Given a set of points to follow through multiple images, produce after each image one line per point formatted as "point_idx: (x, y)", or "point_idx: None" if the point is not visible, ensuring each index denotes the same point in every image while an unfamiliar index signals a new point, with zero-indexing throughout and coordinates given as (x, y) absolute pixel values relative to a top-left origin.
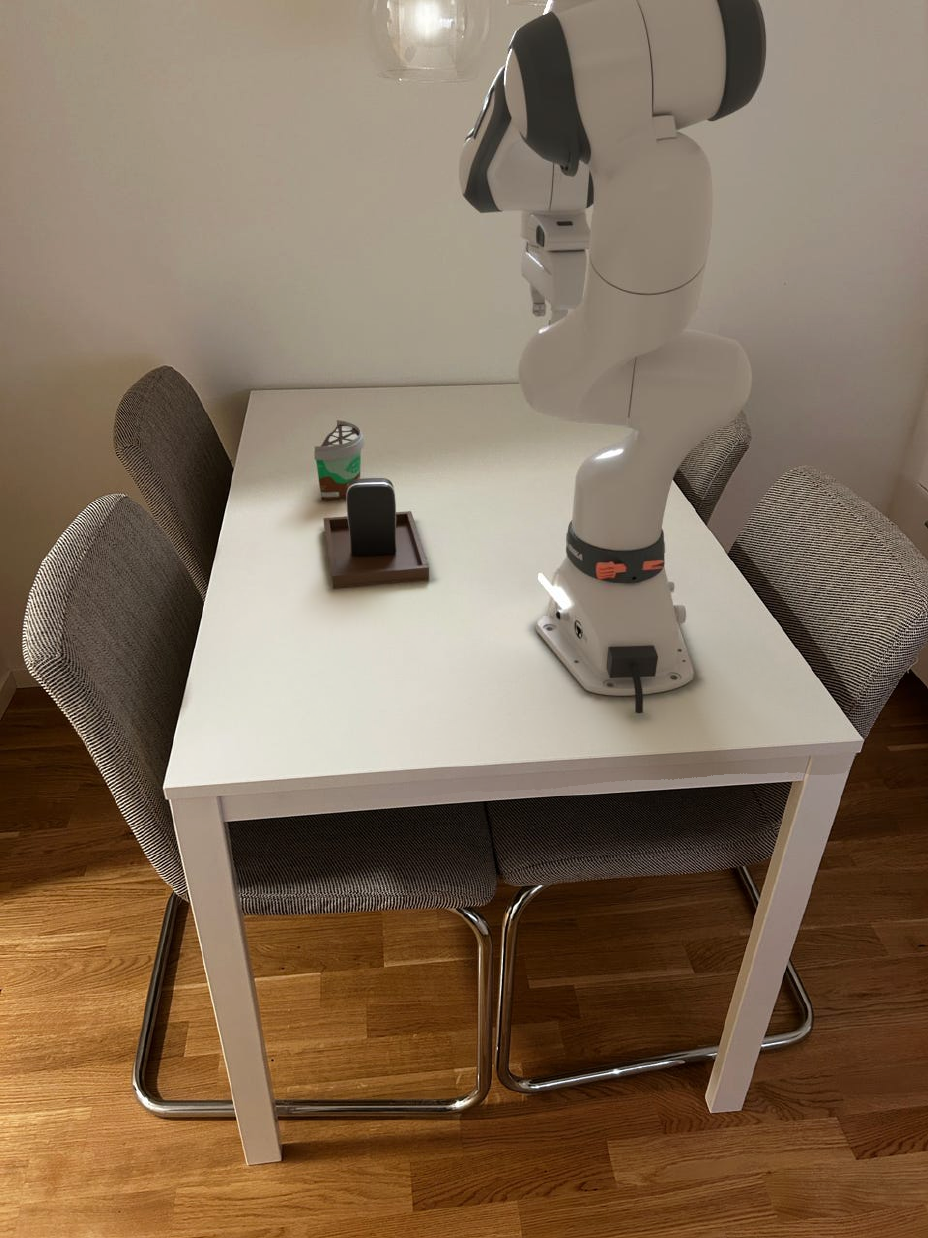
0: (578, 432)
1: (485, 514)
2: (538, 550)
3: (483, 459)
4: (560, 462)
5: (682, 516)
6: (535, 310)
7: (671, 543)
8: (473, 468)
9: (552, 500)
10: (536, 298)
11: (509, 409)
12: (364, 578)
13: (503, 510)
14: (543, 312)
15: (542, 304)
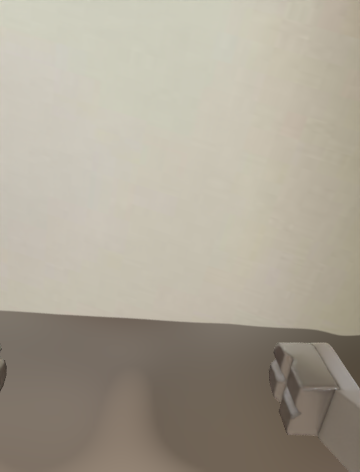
0: (350, 280)
1: (142, 77)
2: (27, 125)
3: (324, 128)
4: (273, 232)
5: (101, 310)
6: (292, 364)
7: (40, 280)
8: (300, 102)
9: (166, 188)
10: (354, 428)
11: None
12: None
13: (150, 110)
14: (274, 386)
15: (293, 420)
